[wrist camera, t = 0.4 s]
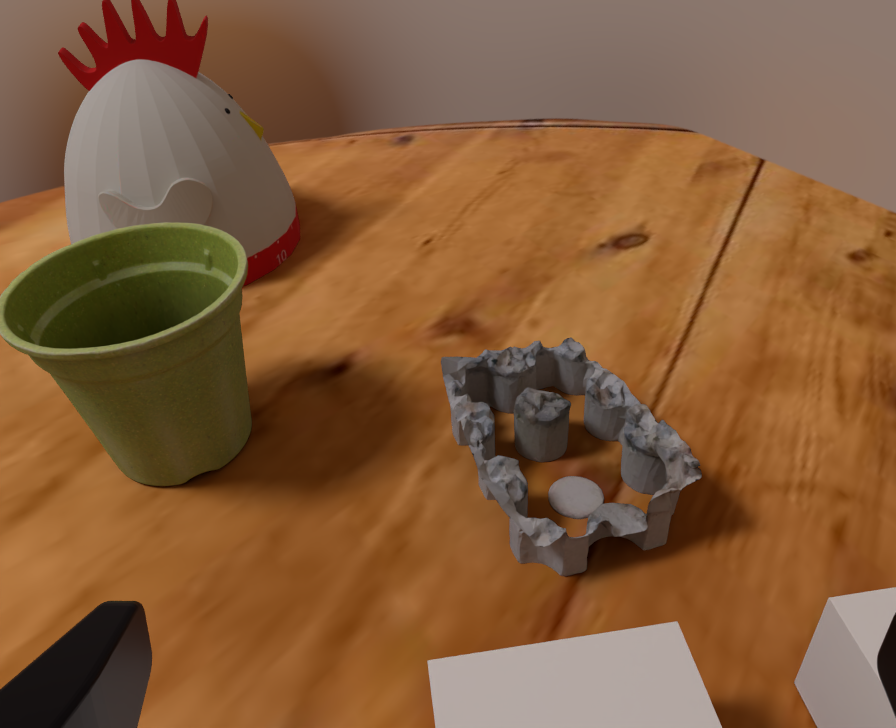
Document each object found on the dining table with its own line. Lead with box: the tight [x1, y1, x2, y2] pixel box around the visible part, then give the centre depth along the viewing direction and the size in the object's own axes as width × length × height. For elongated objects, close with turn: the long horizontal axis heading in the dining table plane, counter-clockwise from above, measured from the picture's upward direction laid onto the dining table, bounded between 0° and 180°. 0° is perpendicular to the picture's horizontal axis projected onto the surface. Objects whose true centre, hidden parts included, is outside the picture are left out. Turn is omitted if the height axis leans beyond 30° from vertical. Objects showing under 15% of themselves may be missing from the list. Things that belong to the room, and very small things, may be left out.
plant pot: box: [0, 222, 252, 486], centre depth 33 cm, size 9×9×9 cm
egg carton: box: [441, 338, 702, 576], centre depth 31 cm, size 11×8×4 cm
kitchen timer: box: [58, 0, 300, 286], centre depth 45 cm, size 14×14×15 cm
